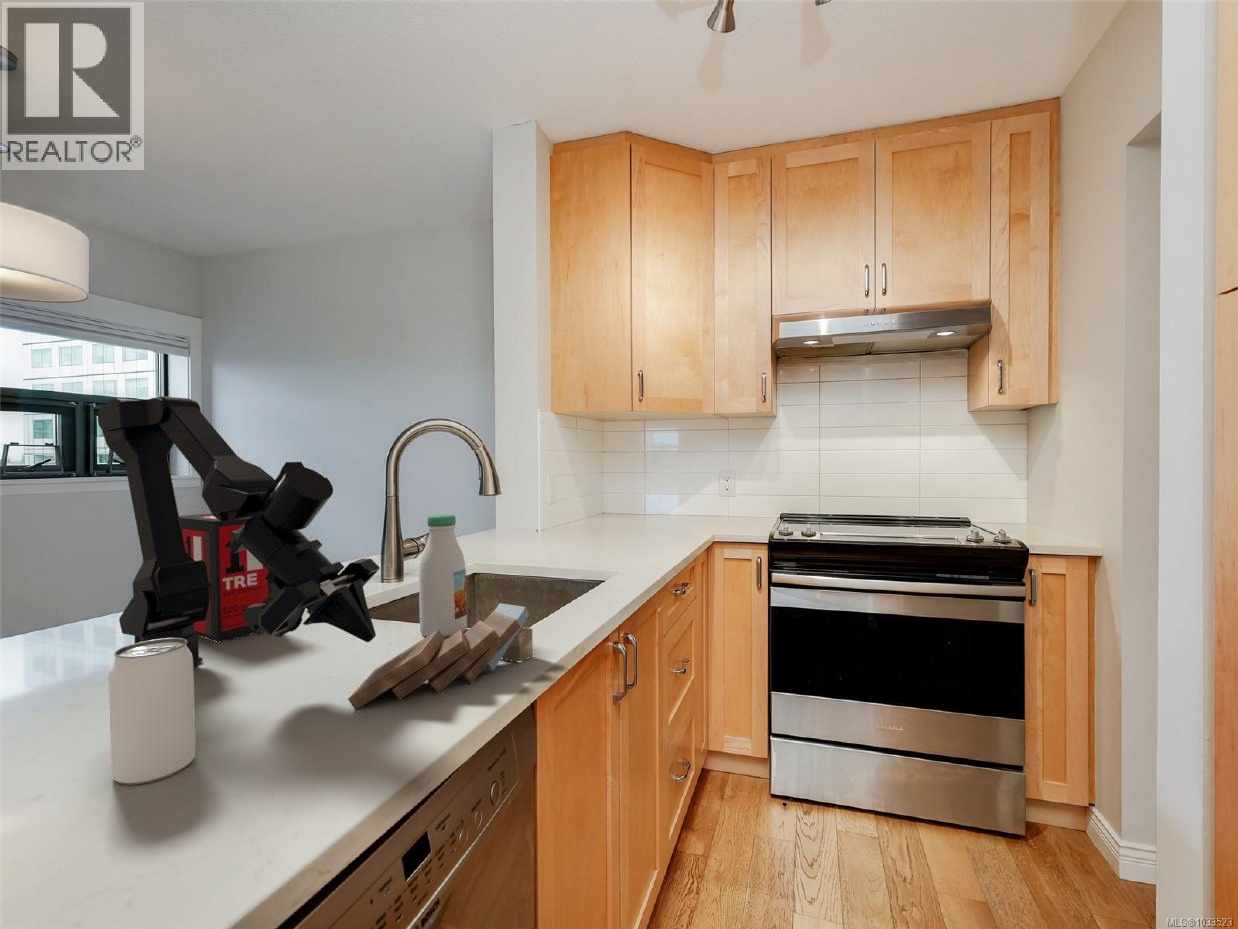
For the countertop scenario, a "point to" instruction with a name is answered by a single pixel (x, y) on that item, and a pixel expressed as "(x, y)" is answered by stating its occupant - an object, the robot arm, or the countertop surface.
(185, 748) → the can
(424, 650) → the domino
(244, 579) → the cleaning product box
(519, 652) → the block
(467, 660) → the domino
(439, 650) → the domino
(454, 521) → the milk bottle
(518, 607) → the domino
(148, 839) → the countertop surface
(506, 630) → the domino
